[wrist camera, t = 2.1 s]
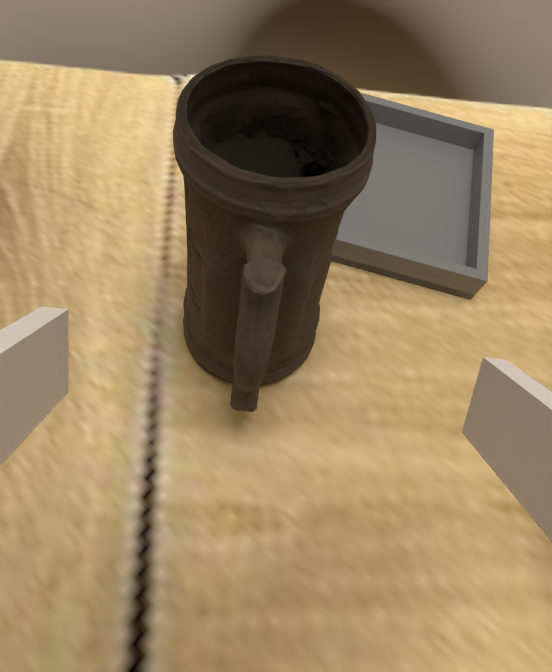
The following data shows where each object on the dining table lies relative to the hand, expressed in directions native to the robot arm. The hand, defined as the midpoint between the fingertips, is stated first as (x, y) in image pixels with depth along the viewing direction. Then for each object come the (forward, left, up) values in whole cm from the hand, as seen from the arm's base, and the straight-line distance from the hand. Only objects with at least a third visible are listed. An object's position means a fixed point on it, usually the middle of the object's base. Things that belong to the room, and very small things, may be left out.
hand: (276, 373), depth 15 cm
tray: (+8, +31, -21) cm, 38 cm away
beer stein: (-2, +11, -21) cm, 24 cm away
